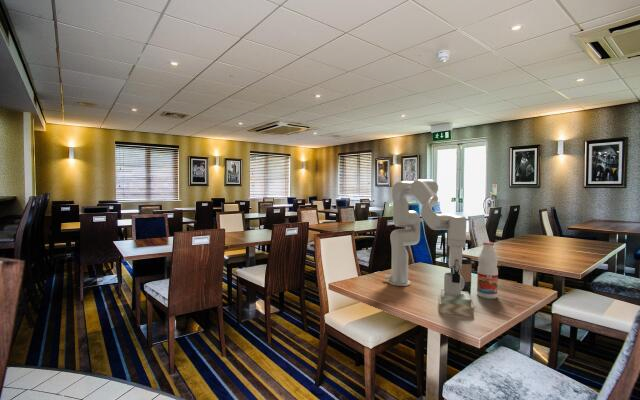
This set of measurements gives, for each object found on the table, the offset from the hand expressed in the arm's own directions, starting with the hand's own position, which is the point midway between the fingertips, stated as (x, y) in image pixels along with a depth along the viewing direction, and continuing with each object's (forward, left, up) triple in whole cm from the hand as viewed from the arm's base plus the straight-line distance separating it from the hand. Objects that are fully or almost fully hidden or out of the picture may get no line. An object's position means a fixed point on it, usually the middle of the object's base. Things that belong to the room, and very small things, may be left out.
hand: (455, 279), depth 150 cm
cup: (0, 0, -7) cm, 7 cm away
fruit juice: (+17, +26, -14) cm, 34 cm away
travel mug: (+5, +21, -14) cm, 25 cm away
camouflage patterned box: (0, 0, -14) cm, 14 cm away
